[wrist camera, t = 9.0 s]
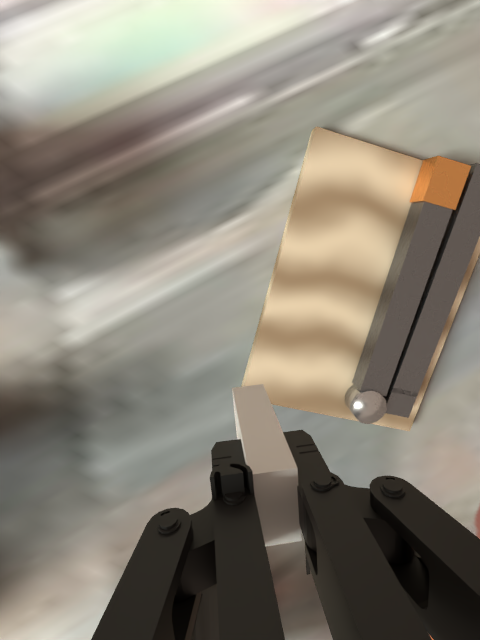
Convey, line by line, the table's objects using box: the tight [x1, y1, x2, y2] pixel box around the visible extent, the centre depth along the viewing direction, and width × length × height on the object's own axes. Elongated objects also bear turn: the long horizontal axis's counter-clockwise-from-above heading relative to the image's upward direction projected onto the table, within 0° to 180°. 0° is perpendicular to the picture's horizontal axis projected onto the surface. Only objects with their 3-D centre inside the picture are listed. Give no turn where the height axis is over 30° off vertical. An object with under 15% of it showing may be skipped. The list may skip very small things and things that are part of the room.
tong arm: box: [345, 156, 471, 424], centre depth 38 cm, size 27×4×3 cm, turn 166°
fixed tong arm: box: [382, 163, 480, 418], centre depth 39 cm, size 26×3×2 cm, turn 165°
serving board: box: [241, 127, 480, 431], centre depth 40 cm, size 28×20×2 cm
